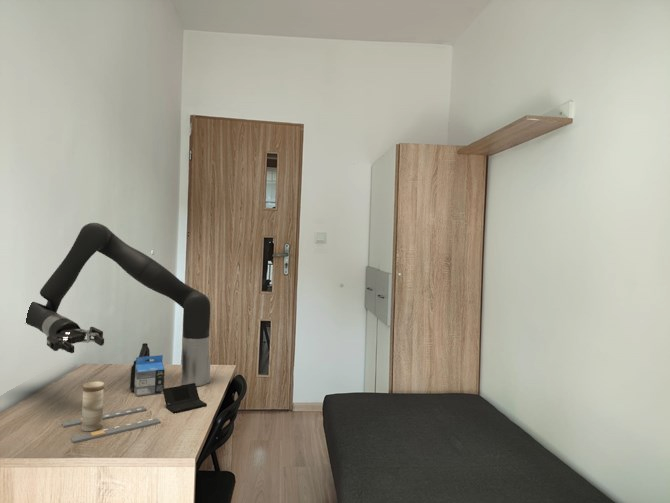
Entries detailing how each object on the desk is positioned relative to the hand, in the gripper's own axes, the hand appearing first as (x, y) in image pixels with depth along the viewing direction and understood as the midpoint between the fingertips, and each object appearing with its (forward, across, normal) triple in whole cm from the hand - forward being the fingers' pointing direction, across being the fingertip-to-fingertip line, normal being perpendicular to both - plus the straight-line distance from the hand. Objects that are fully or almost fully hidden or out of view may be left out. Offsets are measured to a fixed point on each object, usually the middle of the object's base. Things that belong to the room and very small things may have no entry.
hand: (88, 346), depth 132 cm
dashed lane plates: (+15, -1, +18) cm, 23 cm away
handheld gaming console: (+19, +21, +20) cm, 35 cm away
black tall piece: (-15, +28, +26) cm, 41 cm away
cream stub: (+14, -6, +18) cm, 23 cm away
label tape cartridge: (+1, +21, +23) cm, 31 cm away
